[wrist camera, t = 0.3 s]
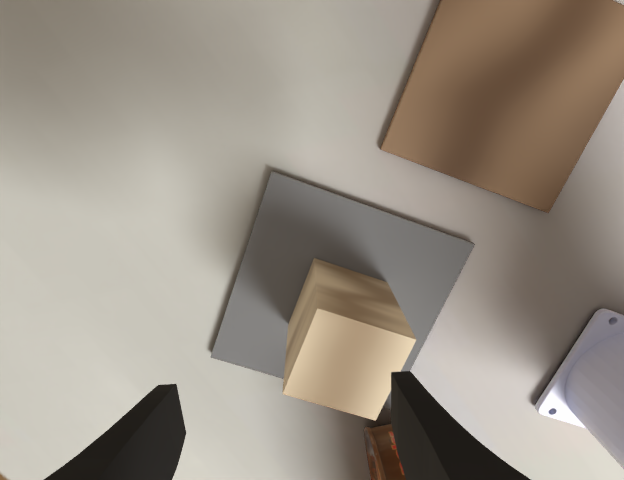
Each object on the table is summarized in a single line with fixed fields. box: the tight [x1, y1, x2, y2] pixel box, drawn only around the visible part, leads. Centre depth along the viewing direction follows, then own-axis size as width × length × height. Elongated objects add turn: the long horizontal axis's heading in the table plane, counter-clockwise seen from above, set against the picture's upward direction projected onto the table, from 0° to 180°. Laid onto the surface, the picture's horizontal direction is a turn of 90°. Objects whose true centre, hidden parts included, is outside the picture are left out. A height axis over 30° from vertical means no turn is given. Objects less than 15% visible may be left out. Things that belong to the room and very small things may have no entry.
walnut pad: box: [380, 0, 624, 213], centre depth 19 cm, size 10×10×1 cm
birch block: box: [283, 258, 416, 421], centre depth 19 cm, size 4×4×6 cm
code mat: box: [211, 171, 475, 410], centre depth 23 cm, size 12×12×1 cm
